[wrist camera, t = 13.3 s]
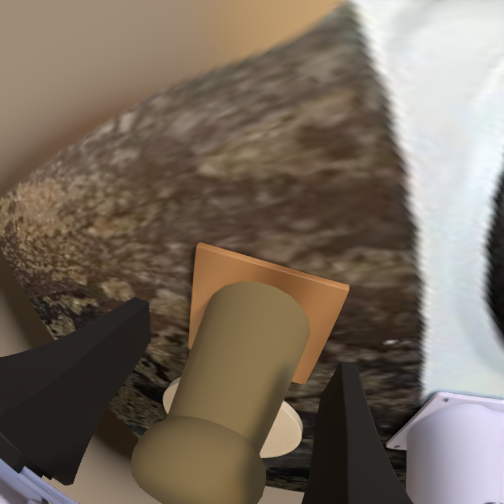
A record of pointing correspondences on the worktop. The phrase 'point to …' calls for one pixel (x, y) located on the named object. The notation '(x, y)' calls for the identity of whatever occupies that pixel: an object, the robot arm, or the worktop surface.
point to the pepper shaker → (225, 400)
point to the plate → (280, 436)
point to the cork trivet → (286, 279)
